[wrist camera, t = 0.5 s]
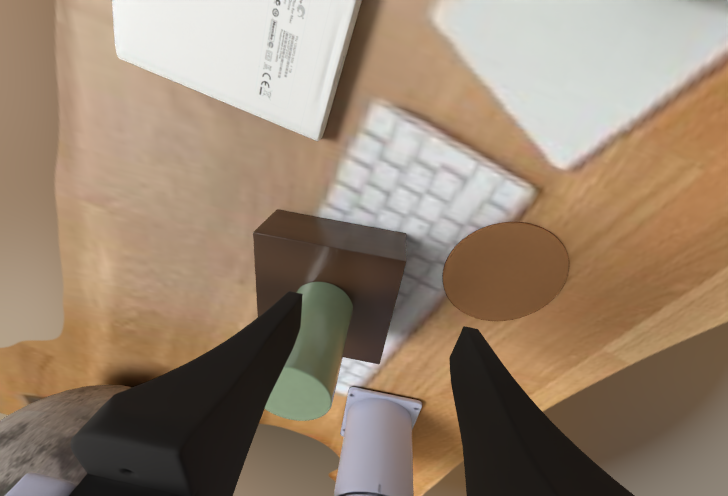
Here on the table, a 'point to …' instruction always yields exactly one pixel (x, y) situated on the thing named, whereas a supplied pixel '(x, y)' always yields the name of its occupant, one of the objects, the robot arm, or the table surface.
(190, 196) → the table surface
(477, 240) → the coaster
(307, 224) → the stand
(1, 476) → the moon model
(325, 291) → the sage green cylinder
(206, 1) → the hard drive
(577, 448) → the robot arm
